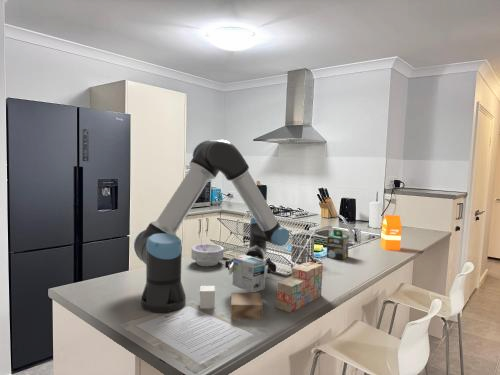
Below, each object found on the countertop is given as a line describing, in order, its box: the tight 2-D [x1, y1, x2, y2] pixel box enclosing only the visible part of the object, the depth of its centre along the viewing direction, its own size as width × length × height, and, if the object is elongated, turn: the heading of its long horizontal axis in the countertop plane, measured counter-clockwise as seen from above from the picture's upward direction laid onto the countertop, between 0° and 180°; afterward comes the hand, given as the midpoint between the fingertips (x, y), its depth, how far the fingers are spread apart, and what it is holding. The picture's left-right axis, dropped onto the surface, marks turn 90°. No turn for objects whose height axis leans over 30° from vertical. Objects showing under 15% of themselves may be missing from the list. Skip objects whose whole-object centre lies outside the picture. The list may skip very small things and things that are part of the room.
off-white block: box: [199, 285, 216, 309], centre depth 124 cm, size 5×5×6 cm
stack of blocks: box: [275, 261, 324, 314], centre depth 130 cm, size 21×6×12 cm, turn 141°
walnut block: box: [230, 292, 264, 320], centre depth 119 cm, size 10×10×5 cm
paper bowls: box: [190, 243, 225, 267], centre depth 172 cm, size 15×15×8 cm
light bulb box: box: [232, 254, 266, 293], centre depth 131 cm, size 11×7×11 cm, turn 47°
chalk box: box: [326, 229, 350, 261], centre depth 191 cm, size 9×9×15 cm
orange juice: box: [380, 214, 402, 251], centre depth 214 cm, size 8×9×20 cm
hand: (247, 272), depth 128 cm, fingers closed on light bulb box, 12 cm apart
